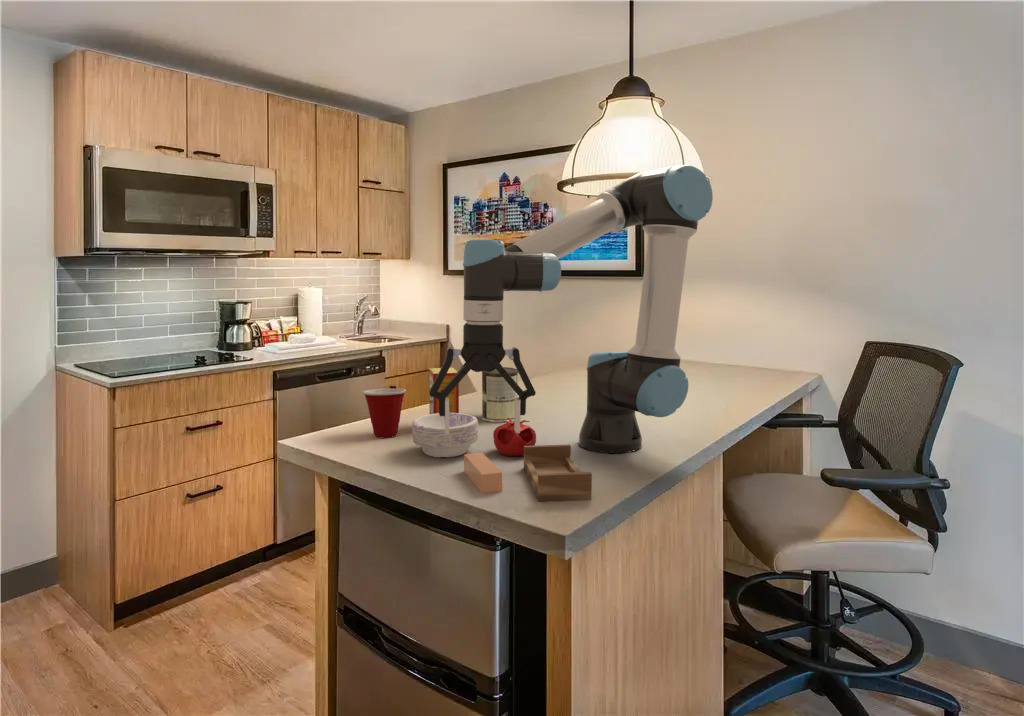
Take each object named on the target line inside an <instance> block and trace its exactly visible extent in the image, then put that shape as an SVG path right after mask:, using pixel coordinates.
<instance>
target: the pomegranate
mask: <svg viewBox="0 0 1024 716" xmlns="http://www.w3.org/2000/svg"><path fill="white" fill-rule="evenodd" d="M514 416H515V414H514ZM507 419H509V421H510V422H507V421H502V422H505V423H504V424H501V422H500V423H499V424H500V425H498V426H496V428H494V430H493V433H492V438H493V444H494V447H495V448H496V450H497V451H498V452H500V454H501V455H503V456H507V457H514V456H515V457H516V456H518V457H519V456H524V446H535V445H536V443H537V434H536V431H535V430H534V429H533V428H532V427H531V426H529V425H527V424H523V423H529V422H530V420H526V419H523V420H521V417H520V433H516V432H515V430H514V421H512V420H511V419H510V418H507ZM507 419H506V420H507Z"/></svg>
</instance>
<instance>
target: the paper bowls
mask: <svg viewBox="0 0 1024 716" xmlns="http://www.w3.org/2000/svg"><path fill="white" fill-rule="evenodd" d="M478 423H479V421H478V419H477V417H476V416H474V415H471V414H467V413H460V412H459V413H449V434H445V416H440V415H439V413H437V414H430V413H429V414H426V415H421V416H419V417H416V418H415V419H413V421H412V423H411V425H412V427H411V429H412V441H413V442H412V443H413V444H414V445H416V446H419V447H420V448H421V450H422V452H423V453H424V454H425V455H426V456H429V457H432V456H433V458H440V457H446V458H453V457H459V456H461V455H464V454H465V453H466V454H467V452H468V451H469V449H470V447H471V445H472V444H474V443H476V442H477V441H478V440H479V439H478V438H479V424H478Z"/></svg>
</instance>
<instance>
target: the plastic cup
mask: <svg viewBox="0 0 1024 716" xmlns="http://www.w3.org/2000/svg"><path fill="white" fill-rule="evenodd" d="M406 391H407V390H406V389H404V388H377V389H376V388H374V389H367V390H363V391H362V394H363V395H364V398H365V400H366V404H367V409H368V413H369V418H370V423H371V427H372V431H373V434H374V435H373V436H374V437H375V436H377V437H376V438H378V437H391V438H393V437H392V436H395V437H396V435H398V432H399V424H400V422H401V421H400V419H401V414H402V413H401V412H402V406H403V402H404V397H405V394H406Z"/></svg>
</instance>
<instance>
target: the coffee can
mask: <svg viewBox="0 0 1024 716" xmlns="http://www.w3.org/2000/svg"><path fill="white" fill-rule="evenodd" d="M502 367H503V368H504V369H505V370H506V371H507V373H508V374H509V375H510V376H511V377H512V378H513V380H514V381H515V382H516V383H517V384H518V381H519V379H518V374H519V373H518V370H517V368H516V367H515V368H514V367H506V366H502ZM481 377H482V378H481V381H482V383H481V385H482V386H481V387H482V389H481V392H482V393H481V396H482V397H481V398H482V399H481V402H482V404H481V405H482V406H481V407H482V408H481V409H482V413H481V414H482V415H481V416H482V417H481V419H482V420H483V421H484V422H488V423H497V424H501V423H504V424H505V423H506V422H502V421H507V422H510V421H509V419H507V418H510V419H511V420H512V421H513V422H514V417H515V416H514V414H515V397H519V396H518V394H517V393H516V392H515V391H514V390H513V389H512V387H511V386H510V385H509V384H508V383H507V381H506V380H505V379H504V378H503V377H502V376H501V374H500V373H499V372H498V371H497V370H496V369H495V370H493V371H491V372H486V371H481ZM506 419H507V420H506ZM500 422H501V423H500Z"/></svg>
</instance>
